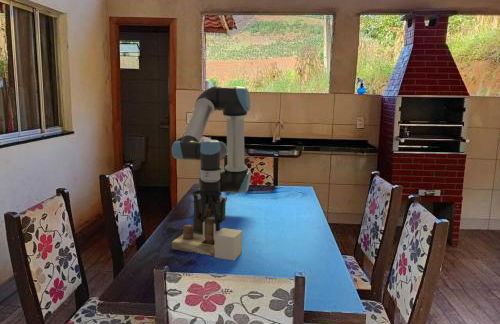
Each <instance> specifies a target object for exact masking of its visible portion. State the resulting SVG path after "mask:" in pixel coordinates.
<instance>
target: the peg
mask: <svg viewBox="0 0 500 324" xmlns="http://www.w3.org/2000/svg"><path fill="white" fill-rule="evenodd" d="M214 223H215V218H214V216H211V217H208V218H206V219H205V244H211V245H215V240H214Z"/></svg>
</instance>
